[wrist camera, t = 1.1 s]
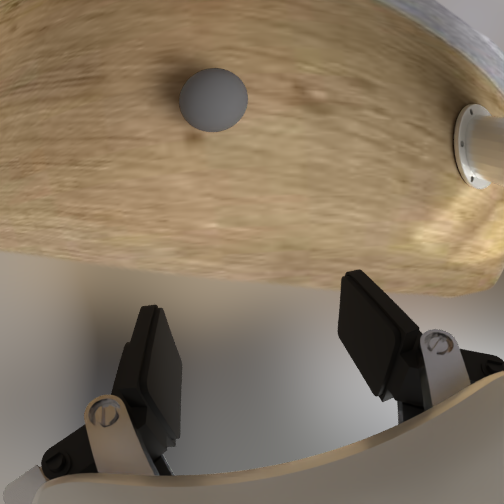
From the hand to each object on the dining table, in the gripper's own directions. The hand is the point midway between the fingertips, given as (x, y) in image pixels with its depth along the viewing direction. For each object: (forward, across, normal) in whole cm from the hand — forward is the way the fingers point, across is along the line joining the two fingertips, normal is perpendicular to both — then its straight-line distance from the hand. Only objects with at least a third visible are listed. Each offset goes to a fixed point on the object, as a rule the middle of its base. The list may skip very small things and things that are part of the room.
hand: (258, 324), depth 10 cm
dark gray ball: (+15, 0, -10) cm, 18 cm away
